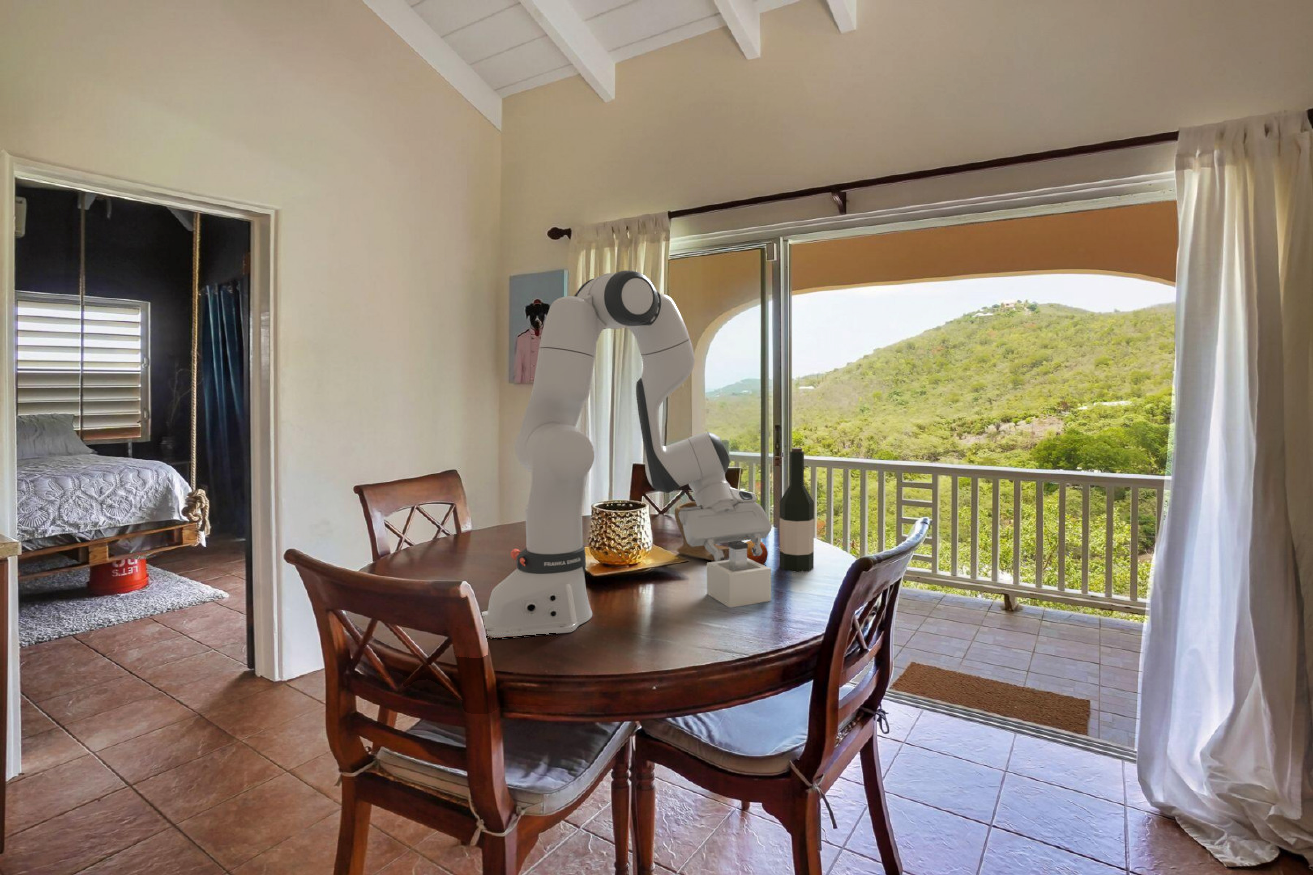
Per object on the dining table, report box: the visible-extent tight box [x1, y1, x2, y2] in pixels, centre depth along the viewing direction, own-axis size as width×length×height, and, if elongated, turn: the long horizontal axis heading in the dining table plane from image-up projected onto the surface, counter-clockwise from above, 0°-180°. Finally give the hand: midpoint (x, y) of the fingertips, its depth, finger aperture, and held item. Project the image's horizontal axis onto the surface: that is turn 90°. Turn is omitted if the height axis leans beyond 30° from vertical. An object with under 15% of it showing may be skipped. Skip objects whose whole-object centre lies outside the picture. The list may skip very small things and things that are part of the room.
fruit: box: [744, 540, 769, 567], centre depth 167 cm, size 8×8×8 cm
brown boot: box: [674, 500, 729, 562], centre depth 176 cm, size 15×12×15 cm
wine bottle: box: [779, 447, 815, 573], centre depth 165 cm, size 8×8×30 cm
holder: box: [706, 558, 772, 608], centre depth 143 cm, size 10×10×7 cm
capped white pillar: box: [727, 541, 748, 572], centre depth 143 cm, size 4×4×11 cm
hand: (739, 556), depth 142 cm, fingers open, 8 cm apart
